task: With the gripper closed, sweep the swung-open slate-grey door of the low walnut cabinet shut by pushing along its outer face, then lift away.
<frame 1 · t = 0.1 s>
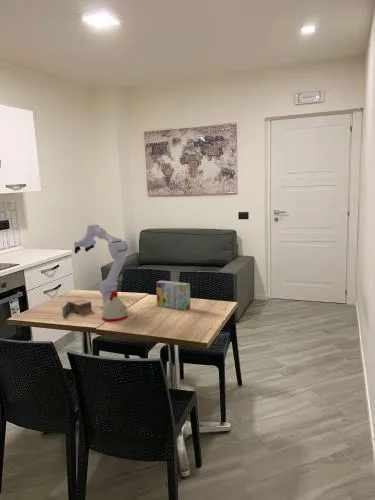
hand: (80, 251, 259), 32 cm above the table, tool tilted 50°, fingers open, 7 cm apart
cabinet: (80, 310, 242), on the table
door: (65, 308, 236), point 3 cm above the table, hinge at 40.0°
snack box: (173, 307, 242), on the table
kitchen timer: (114, 318, 226), on the table
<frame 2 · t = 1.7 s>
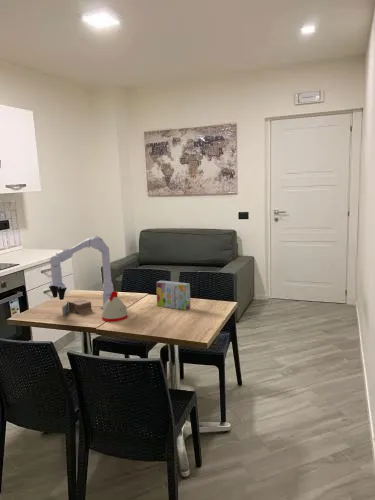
hand: (58, 298, 238), 9 cm above the table, tool pointing down, fingers open, 7 cm apart
nothing on the table moved.
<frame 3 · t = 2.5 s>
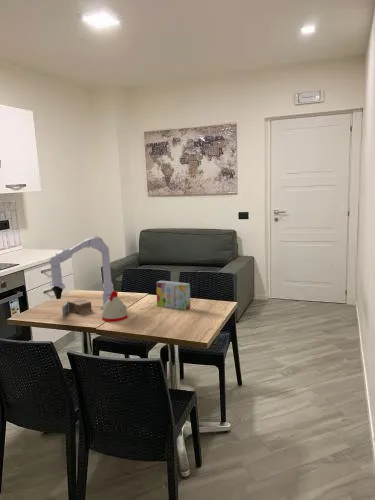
hand: (58, 298, 238), 8 cm above the table, tool pointing down, fingers closed
nothing on the table moved.
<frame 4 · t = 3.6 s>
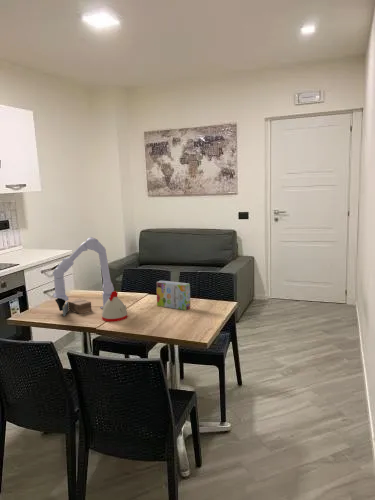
hand: (61, 310, 238), 1 cm above the table, tool pointing down, fingers closed, pressing on door
door: (65, 308, 237), point 3 cm above the table, hinge at 39.1°, touching gripper
everything else where it was.
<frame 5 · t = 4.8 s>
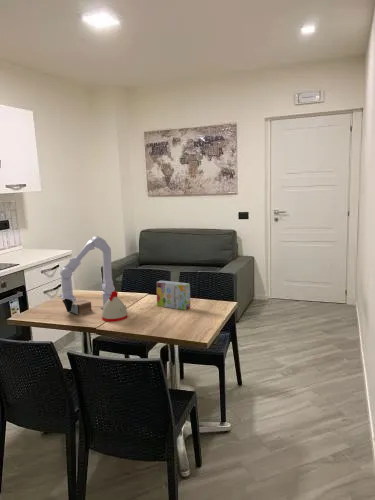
hand: (69, 311, 236), 2 cm above the table, tool pointing down, fingers closed, pressing on door
door: (71, 307, 238), point 3 cm above the table, hinge at 3.1°, touching gripper
everything else where it was.
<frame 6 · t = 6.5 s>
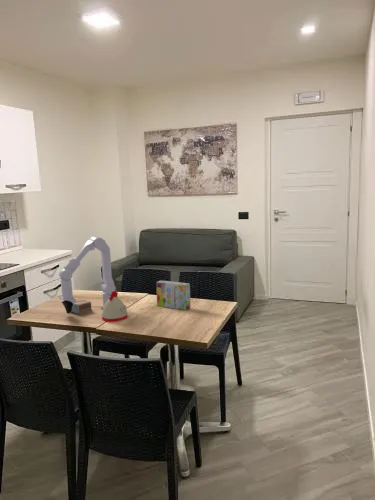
hand: (69, 312, 232), 2 cm above the table, tool pointing down, fingers closed
door: (72, 307, 238), point 3 cm above the table, hinge at -1.4°
everything else where it was.
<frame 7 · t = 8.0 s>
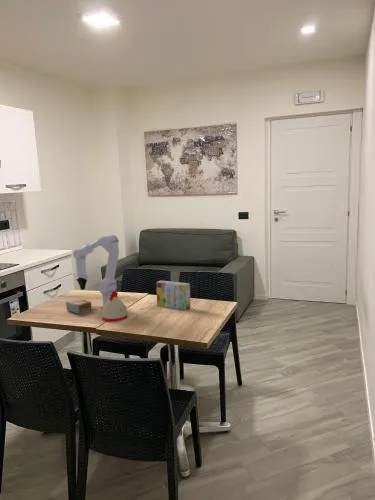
hand: (82, 289, 253), 9 cm above the table, tool pointing down, fingers closed
nothing on the table moved.
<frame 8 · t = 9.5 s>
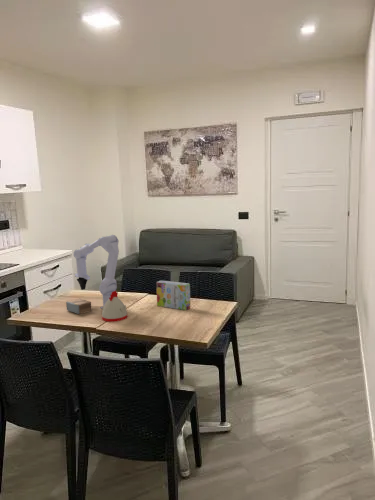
hand: (83, 289, 254), 9 cm above the table, tool pointing down, fingers closed
nothing on the table moved.
at the end: door at -1° (first picture: +40°); kitchen timer moved 0.3 cm from its start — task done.
